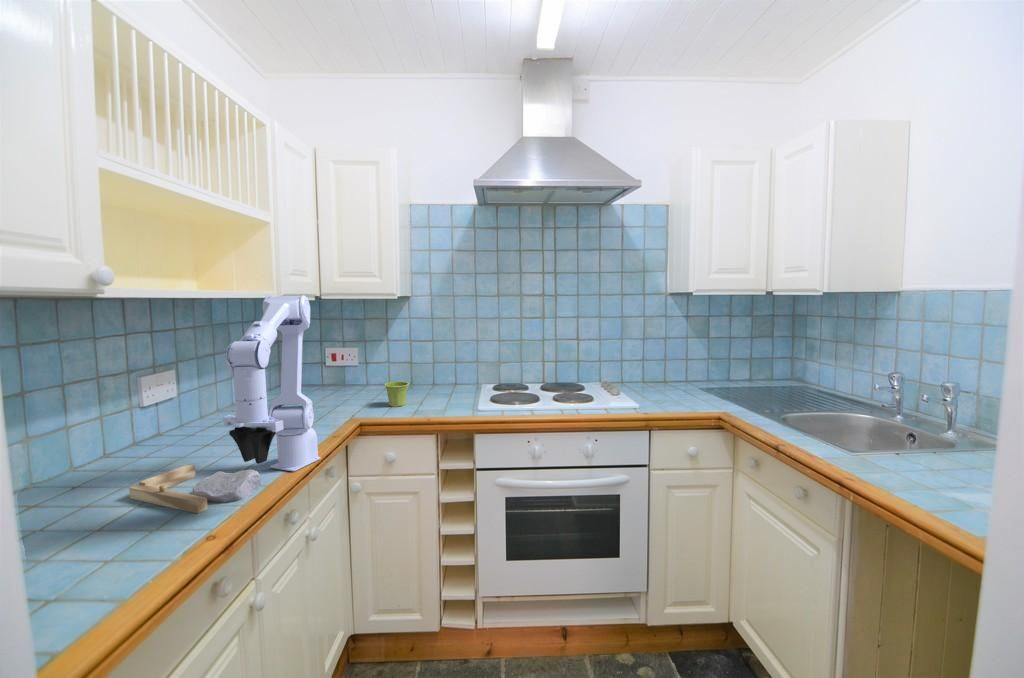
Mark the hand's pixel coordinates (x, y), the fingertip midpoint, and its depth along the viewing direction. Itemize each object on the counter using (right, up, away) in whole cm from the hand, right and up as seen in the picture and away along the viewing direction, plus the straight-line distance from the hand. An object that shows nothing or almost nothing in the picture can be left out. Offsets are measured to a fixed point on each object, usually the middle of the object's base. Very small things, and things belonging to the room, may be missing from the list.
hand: (255, 461), depth 95 cm
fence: (-18, -9, +6) cm, 21 cm away
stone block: (-10, -9, +6) cm, 15 cm away
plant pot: (+9, -1, +84) cm, 85 cm away
